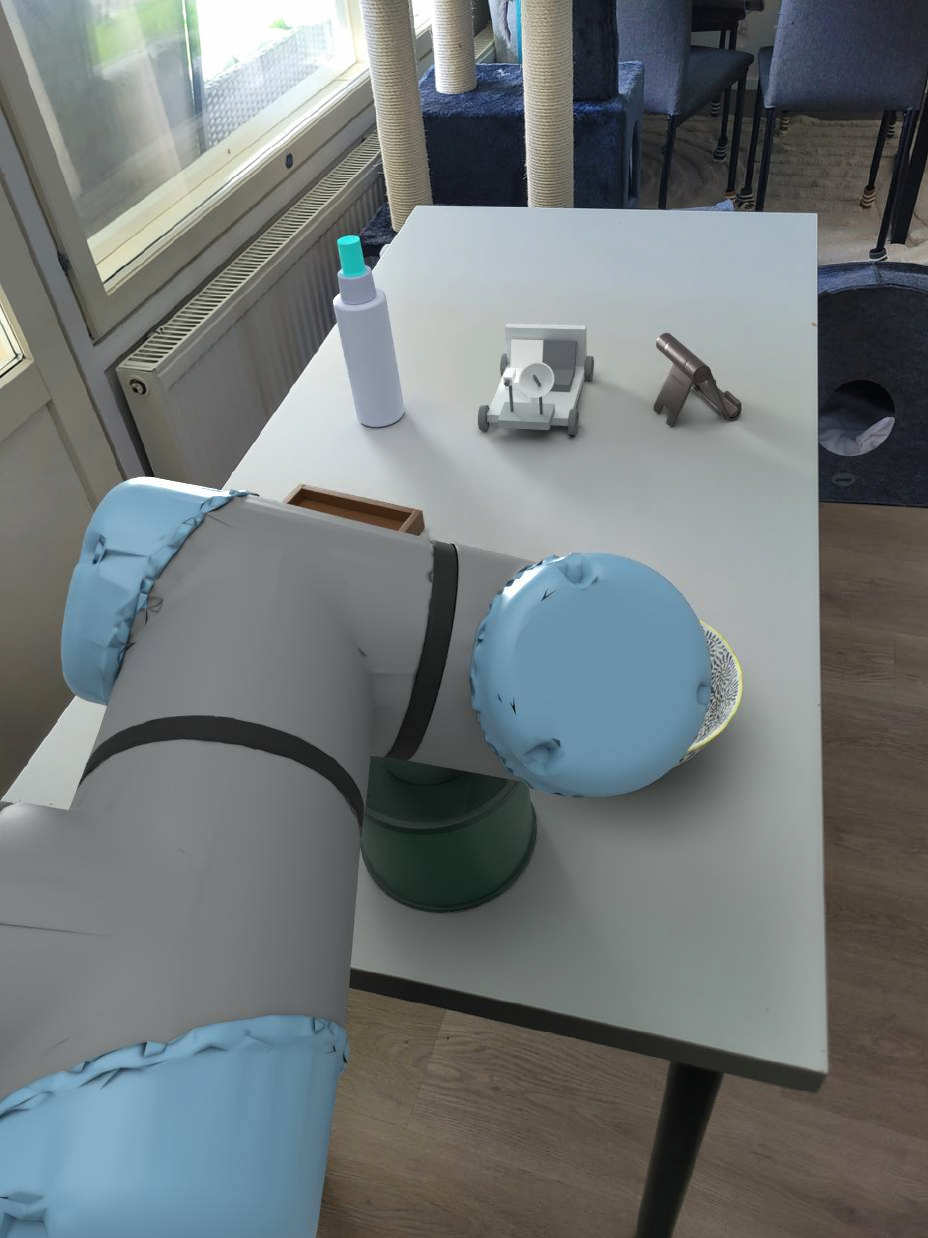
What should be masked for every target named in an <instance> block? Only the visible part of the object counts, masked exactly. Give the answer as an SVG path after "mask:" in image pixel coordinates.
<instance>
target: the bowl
mask: <svg viewBox="0 0 928 1238" xmlns="http://www.w3.org/2000/svg"><path fill="white" fill-rule="evenodd" d="M699 621H700V624H701V626H702V628H703V631H704V634H705V637H706V641H707V645H708V648H709V652H710V658H711V670H712V681H711V699H710V701H709V704H708V708H707V711H706V715H705V718H704V721H703V724H702V727H701V729H700V731H699V733H698V734H697V736H696V738H695V740H694V742H693V743H692V745H691V746H690V748H689V749H688V751H687V752H686V754H685V755H684V756H683V757H682V758H681V760H680V761H679V762H678V763H677V764H676V765H675V766H674V767H673V768H677V767H678V766H681V765H682V764H684V763H687V762H688V761H689V760H691V759H692V758H694V757H695V756H697V755H698V754H699V753H700V752H701V751H703V750H704V749H705V747H707V745H708V744H709V743H710V742H711V741H712V740H714V739H715V738H717V736H718V735H720V734H721V733H722V732H723V731H724V730H725V729H726V727H727V726H728V725H729V724H730V722H731V721H732V719H733V718H734V716H735V714H736V713H737V711H738V709H739V706H740V703H741V700H742V697H743V690H744V688H743V686H744V680H743V672H742V668H741V664H740V661H739V659H738V657H737V655H736V653H735V651H734V650H733V648H732V647H731V645H730V644H729V642H727V641H726V639H725V638H724V637H723V636H722V635H721V634H720V633H719V632H718V631H717V630H715V629H714V628H713V627H712V626H710V625H709V624H708V623H706V622H704V621H703V620H701V619H699Z"/></svg>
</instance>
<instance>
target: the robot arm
mask: <svg viewBox="0 0 928 1238" xmlns="http://www.w3.org/2000/svg"><path fill="white" fill-rule="evenodd" d="M699 620H700V618H698V616H697V614H696V613H695V611H694V609H693V608H692V606H691V604H690V603H689V601H688V600H687V599H686V597H685V595H684V594H683V593H682V592H681V591H680V590H679V589H678V588H677V587H676V586H675V585H674V583H672V582H671V581H670V580H669V579H668V578H666V576H664V575H662V574H661V573H660V572H659V571H657V570H655V569H654V568H652V567H651V566H648V565H647V564H645V563H643V562H641V561H638V560H635V559H632V558H630V557H627V556H623V555H619V554H614V553H608V552H586V553H582V552H581V553H580V552H569V553H568V554H567V555H564V556H558V555H556V554H553V555H550V556H548V557H545V558H543V559H541V560H540V561H534V560H530V559H525V558H521V557H517V556H513V555H509V554H505V553H500V552H496V551H491V550H487V549H482V548H478V547H474V546H471V545H466V544H462V543H458V542H453V541H452V542H448V543H447V542H443V541H440V540H436V539H431V538H430V537H424V536H420V535H419V536H416V535H412V534H408V533H404V532H400V531H395V530H391V529H387V528H383V527H379V526H374V525H370V524H366V523H362V522H358V521H354V520H350V519H346V518H342V517H338V516H334V515H330V514H326V513H322V512H318V511H314V510H310V509H306V508H302V507H298V506H294V505H290V504H286V503H282V501H278V500H274V499H270V498H266V497H262V496H260V494H258V493H256V492H253V491H251V490H248V489H241V490H236V489H232V488H230V489H229V490H227V491H226V490H220V489H217V488H210V487H206V486H201V485H195V484H190V483H183V482H178V481H173V480H167V479H162V478H158V477H151V476H138V477H133V478H130V479H127V480H124V481H123V482H120V483H117V485H116V486H114V487H113V488H112V489H111V490H110V491H108V492H107V493H106V494H105V496H104V497H103V499H102V500H101V501H100V503H99V504H98V505H97V507H96V509H95V511H94V512H93V515H92V516H91V519H90V520H89V523H88V526H87V528H86V530H85V532H84V536H83V541H82V545H81V550H80V554H79V558H78V562H77V564H76V566H75V567H74V569H73V571H72V575H71V579H70V582H69V587H68V592H67V597H66V602H65V607H64V613H63V621H62V628H61V629H62V630H61V637H60V662H61V663H60V665H61V670H62V676H63V679H64V682H65V683H66V685H67V687H68V688H69V690H70V691H71V692H72V693H73V694H74V695H75V696H76V697H77V698H79V699H81V700H83V701H85V702H88V703H93V704H97V705H101V706H105V707H106V708H105V710H104V714H103V716H102V720H101V722H100V725H99V729H98V732H97V735H96V736H95V740H94V742H93V746H92V748H91V751H90V753H89V755H88V759H87V761H86V764H85V765H84V766H85V767H84V769H83V772H82V774H81V777H80V780H79V781H78V784H77V787H76V791H75V793H74V796H73V798H72V801H71V803H70V806H69V808H68V809H64V808H57V807H53V806H48V805H41V804H36V803H30V802H23V801H16V802H10V801H4V800H0V1238H316V1237H317V1234H318V1229H319V1220H320V1214H321V1206H322V1198H323V1192H324V1184H325V1177H326V1172H327V1171H326V1170H327V1162H328V1155H329V1149H330V1141H331V1133H332V1126H333V1119H334V1112H335V1105H336V1097H337V1090H338V1083H339V1078H340V1077H341V1076H342V1075H343V1074H344V1071H346V1068H347V1066H348V1064H349V1059H350V1055H351V1054H350V1044H349V1043H350V1042H349V1041H348V1035H347V1018H348V1017H347V1016H348V1004H349V992H350V980H351V969H352V968H351V967H352V957H353V943H354V931H355V919H356V907H357V894H358V882H359V881H358V879H359V866H360V856H361V848H360V845H361V836H362V824H363V820H364V815H365V809H366V799H367V788H368V778H369V768H370V757H371V756H376V757H387V758H391V759H397V760H402V761H407V760H408V761H414V762H419V763H424V764H430V765H435V766H440V767H446V768H451V769H457V770H462V771H468V772H473V773H478V774H484V775H489V776H495V777H500V778H505V779H510V780H515V781H520V782H525V785H526V786H527V787H529V788H530V789H532V790H534V791H537V792H542V793H547V794H551V795H557V796H563V797H570V798H588V797H590V798H591V797H593V798H606V797H614V796H620V795H625V794H629V793H633V792H636V791H638V790H641V789H643V788H645V787H647V786H649V785H651V784H652V783H654V782H656V781H657V780H659V779H660V778H662V777H663V776H664V775H665V774H667V773H668V772H669V771H670V770H672V769H673V768H675V767H674V766H675V765H676V764H677V763H678V762H679V761H680V760H681V758H682V757H683V756H684V755H685V754H686V752H687V751H688V749H689V748H690V746H691V745H692V743H693V742H694V740H695V738H696V736H697V734H698V733H699V731H700V729H701V727H702V724H703V721H704V718H705V715H706V711H707V708H708V704H709V701H710V699H711V681H712V670H711V658H710V652H709V648H708V645H707V641H706V637H705V634H704V631H703V628H702V626H701V624H700V621H699Z"/></svg>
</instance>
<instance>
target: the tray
mask: <svg viewBox="0 0 928 1238" xmlns="http://www.w3.org/2000/svg"><path fill="white" fill-rule="evenodd" d="M281 502H282V503H286V504H290V505H294V506H298V507H302V508H306V509H310V510H314V511H318V512H322V513H326V514H330V515H334V516H338V517H342V518H346V519H350V520H354V521H358V522H362V523H366V524H370V525H374V526H379V527H383V528H387V529H391V530H395V531H400V532H404V533H408V534H412V535H416V536H420V534H421V533H422V532H423V531H424V529H425V528H426V525H425V518H424V513H423V510H422V509H418V508H413V507H410V506H409V507H408V506H403V505H400V504H395V503H392V502H391V503H390V502H386V501H381V500H376V499H374V498H373V499H372V498H368V497H364V496H358V495H355V494H350V493H345V492H341V491H337V490H331V489H328V488H321V487H319V486H313V485H309V484H305V483H298V484H297V485H296V486H295V487H294V488H293V489H292V490H291V491H290V492H289V493H288V495H286V497H284V499H283V500H282V501H281Z"/></svg>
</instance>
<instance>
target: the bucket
mask: <svg viewBox="0 0 928 1238" xmlns="http://www.w3.org/2000/svg"><path fill="white" fill-rule="evenodd" d="M537 823H538V822H537V815H536V810H535V807H534V805H533V802H532V798H531V788H529V787H527V786H526V785H525V782H520V781H515V780H510V779H505V778H500V777H495V776H489V775H484V774H478V773H473V772H468V771H465V772H464V773H463V774H461V775H460V776H458V777H456V778H454V779H452V780H450V781H447V782H444V783H440V784H434V785H417V784H412V783H408V782H405V781H403V780H401V779H399V778H397V777H395V776H394V775H393V774H391V773H390V772H389V771H388V770H387V769H386V767H385V766H384V764H383V763H382V760H381V758H380V757H376V756H371V757H370V768H369V778H368V788H367V799H366V809H365V815H364V820H363V824H362V836H361V845H360V854H361V856H362V860H363V863H364V865H365V868H366V871H367V873H368V874H369V876H370V877H371V879H372V881H373V882H374V883H375V884H376V886H377V888H379V889H380V890H381V891H382V892H383V893H385V894H386V896H388V897H390V898H391V899H393V900H394V901H396V902H397V903H399V904H402V905H403V906H405V907H407V908H411V909H413V910H417V911H421V912H427V913H435V914H436V913H438V914H447V913H449V914H450V913H458V912H464V911H468V910H472V909H474V908H479V907H481V906H483V905H485V904H488V903H489V902H491V901H493V900H494V899H496V898H498V897H500V896H501V895H503V894H504V893H505V892H506V891H507V890H509V889H510V888H511V887H512V886H513V885H514V884H515V883H516V882H517V881H518V880H519V879H520V878H521V876H522V875H523V873H524V872H525V871H526V869H527V867H528V865H529V864H530V862H531V861H532V860H531V859H532V857H533V856H534V852H535V848H536V844H537V837H538V824H537Z"/></svg>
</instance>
